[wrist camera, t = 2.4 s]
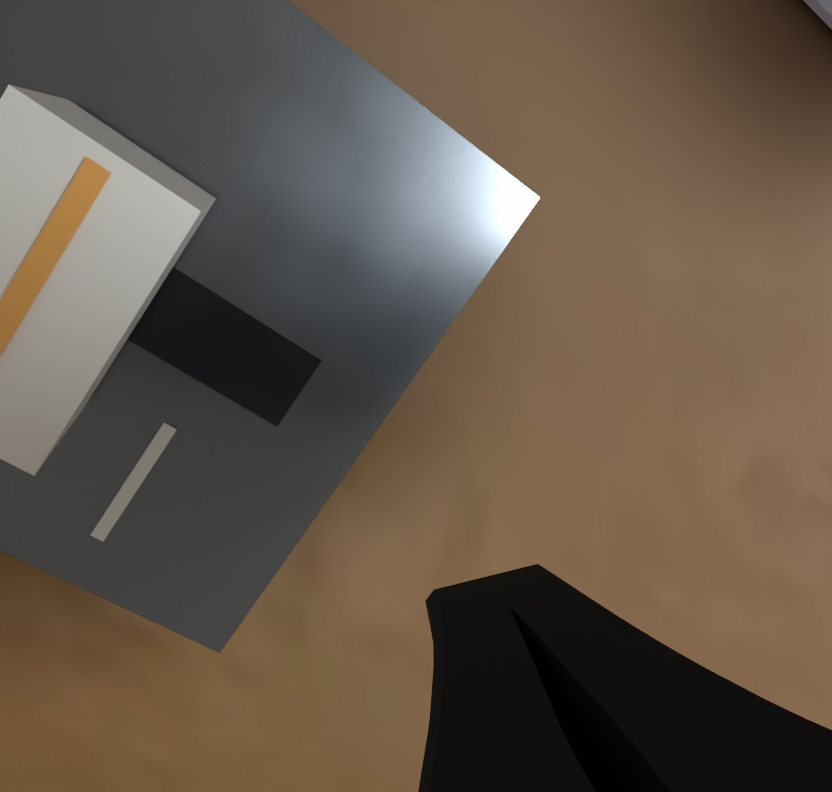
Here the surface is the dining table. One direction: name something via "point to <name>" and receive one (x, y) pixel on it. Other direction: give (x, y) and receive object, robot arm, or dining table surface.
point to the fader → (75, 260)
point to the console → (246, 294)
